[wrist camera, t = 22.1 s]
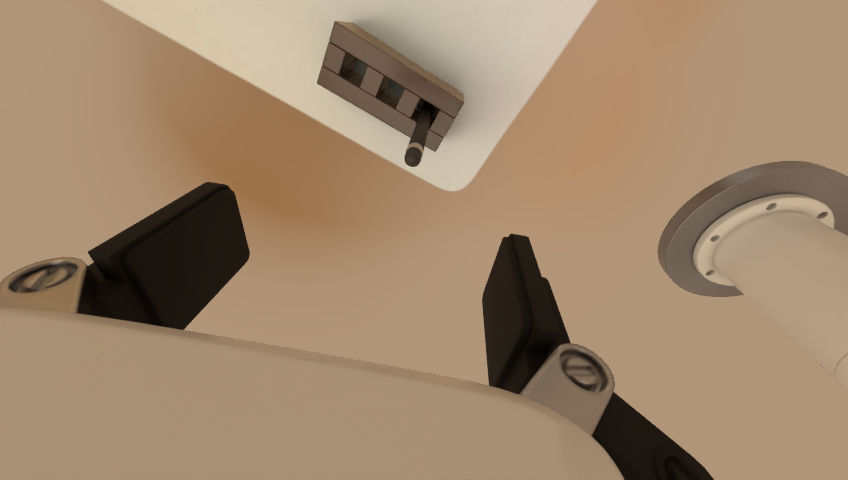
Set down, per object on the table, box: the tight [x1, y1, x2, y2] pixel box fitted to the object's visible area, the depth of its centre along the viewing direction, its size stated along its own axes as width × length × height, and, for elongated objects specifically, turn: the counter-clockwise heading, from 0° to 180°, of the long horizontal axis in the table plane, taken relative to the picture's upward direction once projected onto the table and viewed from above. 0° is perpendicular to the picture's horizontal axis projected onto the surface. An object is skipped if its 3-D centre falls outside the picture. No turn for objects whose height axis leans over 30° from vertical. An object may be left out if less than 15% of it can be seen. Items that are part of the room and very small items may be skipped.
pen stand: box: [317, 21, 464, 152], centre depth 29 cm, size 5×12×4 cm, turn 61°
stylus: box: [405, 101, 435, 167], centre depth 26 cm, size 1×1×13 cm
